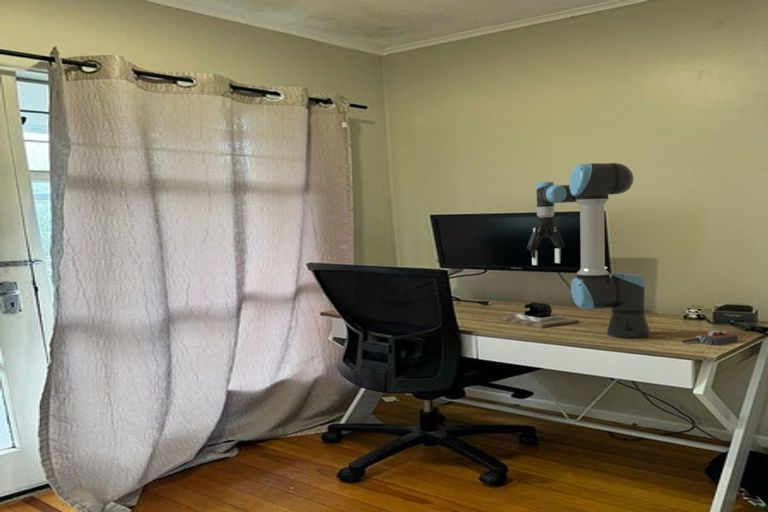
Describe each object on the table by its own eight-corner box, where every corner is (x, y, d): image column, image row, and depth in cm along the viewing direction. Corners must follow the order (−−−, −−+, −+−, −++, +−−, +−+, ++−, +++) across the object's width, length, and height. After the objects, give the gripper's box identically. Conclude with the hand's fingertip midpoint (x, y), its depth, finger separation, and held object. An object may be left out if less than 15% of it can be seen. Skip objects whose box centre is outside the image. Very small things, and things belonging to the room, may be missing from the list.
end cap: (552, 319, 281) (551, 303, 281) (539, 320, 278) (539, 305, 278) (536, 316, 290) (536, 301, 290) (524, 317, 287) (523, 302, 287)
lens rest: (578, 323, 277) (578, 316, 276) (542, 328, 267) (542, 321, 267) (534, 314, 301) (534, 309, 301) (499, 319, 292) (499, 313, 292)
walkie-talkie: (719, 338, 237) (679, 344, 229) (719, 326, 237) (679, 332, 229) (741, 342, 229) (700, 349, 221) (741, 330, 229) (700, 336, 221)
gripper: (529, 217, 283) (530, 266, 284) (572, 215, 295) (573, 262, 296) (518, 217, 290) (519, 265, 291) (560, 215, 301) (561, 261, 303)
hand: (546, 264), depth 294 cm, fingers open, 13 cm apart
